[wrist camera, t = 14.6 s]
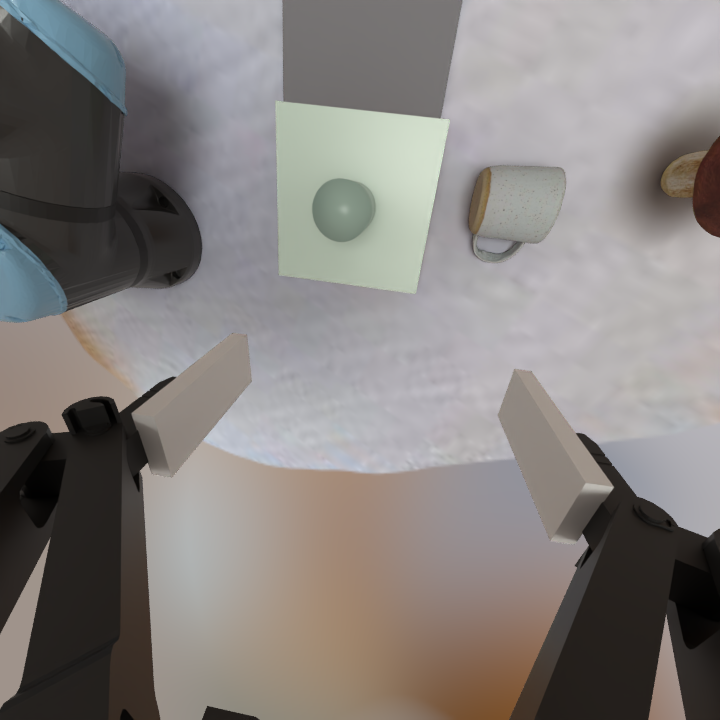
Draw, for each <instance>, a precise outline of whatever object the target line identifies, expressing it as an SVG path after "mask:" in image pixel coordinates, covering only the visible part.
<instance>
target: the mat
mask: <svg viewBox="0 0 720 720" xmlns="http://www.w3.org/2000/svg"><path fill="white" fill-rule="evenodd" d="M461 4H462V0H283V97H284V102H291V103H300V104H310V105H319V106H328V107H337V108H347V109H356V110H365V111H374V112H384V113H393V114H402V115H411V116H421V117H430V118H439V119H440V118H441V113H442V107H443V102H444V96H445V91H446V86H447V80H448V75H449V69H450V64H451V59H452V53H453V48H454V42H455V37H456V32H457V26H458V21H459V15H460V10H461Z"/></svg>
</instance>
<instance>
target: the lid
mask: <svg viewBox="0 0 720 720" xmlns="http://www.w3.org/2000/svg"><path fill="white" fill-rule="evenodd" d="M275 107H276V159H277V211H278V263H279V275H281V276H289V277H296V278H303V279H310V280H317V281H325V282H332V283H339V284H346V285H354V286H361V287H368V288H375V289H383V290H390V291H397V292H404V293H411V294H416V290H417V285H418V280H419V275H420V269H421V264H422V259H423V254H424V249H425V244H426V239H427V234H428V229H429V224H430V219H431V214H432V209H433V203H434V198H435V193H436V188H437V183H438V178H439V173H440V168H441V163H442V158H443V153H444V148H445V142H446V137H447V132H448V127H449V122H450V120H448V119H439V118H430V117H421V116H411V115H402V114H393V113H384V112H374V111H365V110H356V109H347V108H337V107H328V106H319V105H310V104H300V103H291V102H282V101H275Z"/></svg>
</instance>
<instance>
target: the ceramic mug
mask: <svg viewBox="0 0 720 720" xmlns="http://www.w3.org/2000/svg"><path fill="white" fill-rule="evenodd" d="M565 188H566V177H565V172H564V170H563V169H562V168H560V167H532V166H501V165H500V166H493V167H488V168H486V169H484V170H483V171H482V172H481V173H480V175H479V177H478V180H477V183H476V186H475V189H474V193H473V197H472V202H471V207H470V214H469V229H470V231H471V232H472V233H473V250H474V253H475V254H476V256H477V257H478V258H479V259H481V260H482V261H485V262H489V263H500V262H504V261H506V260H508V259H510V258H511V257H513V256H514V255H515V254H516V253H517V252H518V251H519V250H520V249H521V248H522V246H523V245H524V244H525V242H526V243H539V242H541V241H542V240H543V239H544V238H545V237H546V236H547V235H548V233H549V232H550V230H551V228H552V227H553V225H554V223H555V221H556V219H557V216H558V214H559V211H560V209H561V205H562V201H563V197H564V194H565ZM478 236H482V237H487V238H498V239H505V240H512V241H517V243H516V244H515V245H514V246H513V247H512V248H511V249H510V250H508V251H507V252H505V253H502V254H493V253H488V252H485V251H484V250H483V251H480V250H479V249H478V247H477V239H478Z"/></svg>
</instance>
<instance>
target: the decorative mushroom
mask: <svg viewBox="0 0 720 720" xmlns="http://www.w3.org/2000/svg"><path fill="white" fill-rule="evenodd" d="M661 188H662V190H663V191H664V192H665V193H667V194H668V195H669V196H671V197H680V198H684V197H693V212H694V215H695V218H696V220H697V222H698V223H699V225H700V226H701V227H702V228H703V229H704V230H705V231H706V232H708V233H709V234H711V235H713V236H716V237H719V238H720V136H719V137H718V138H717V140H716V141H715V142H714V143H713V145H712V146H711V147H710V149H709V150H706V151H700V152H695V153H690V154H686V155H683V156H681V157H679V158H678V159H676V160H674V161H673V162H672V163H671V164H670V165H669V166H668V167H667V168H666V170H665V171H664V173H663V175H662V178H661Z"/></svg>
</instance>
